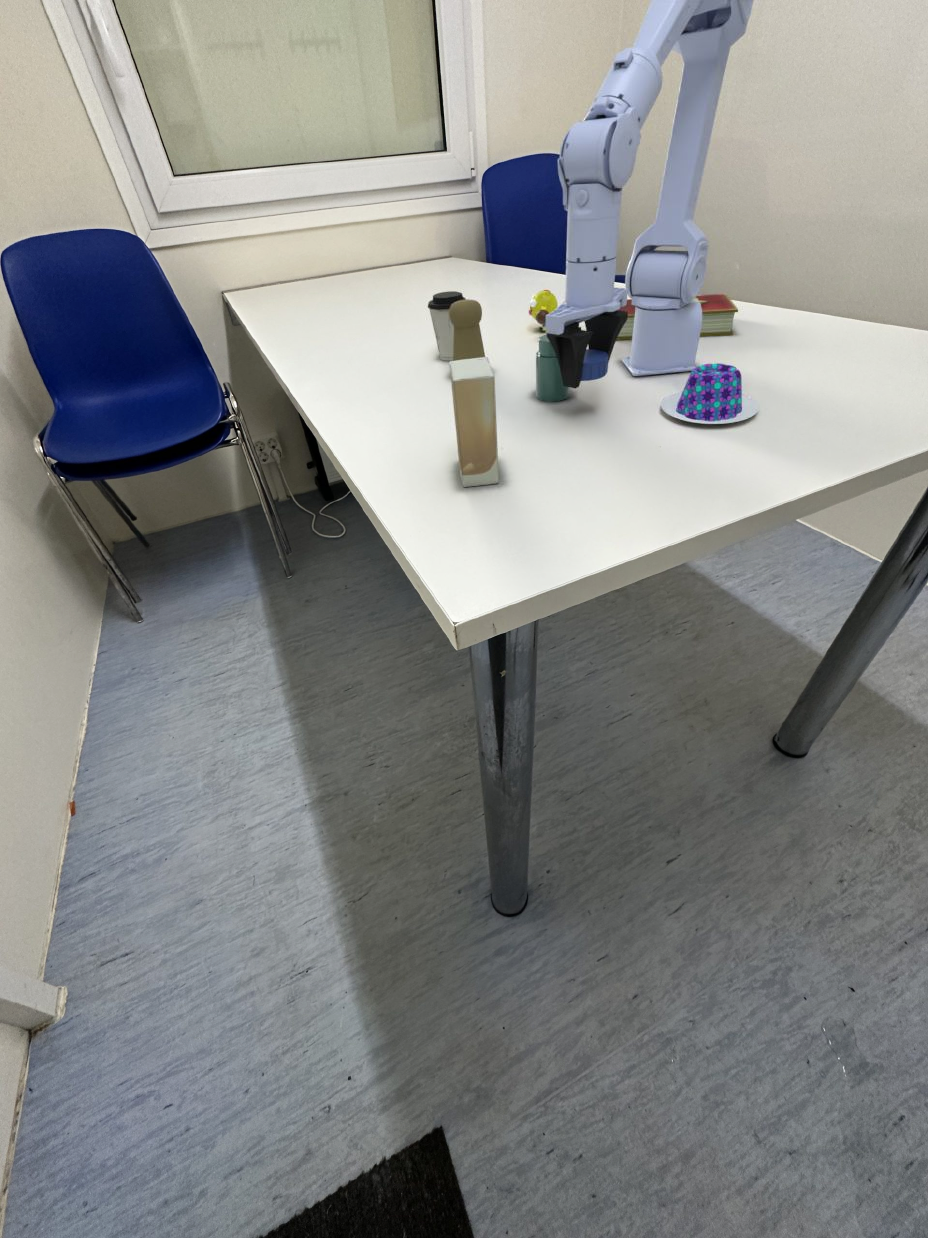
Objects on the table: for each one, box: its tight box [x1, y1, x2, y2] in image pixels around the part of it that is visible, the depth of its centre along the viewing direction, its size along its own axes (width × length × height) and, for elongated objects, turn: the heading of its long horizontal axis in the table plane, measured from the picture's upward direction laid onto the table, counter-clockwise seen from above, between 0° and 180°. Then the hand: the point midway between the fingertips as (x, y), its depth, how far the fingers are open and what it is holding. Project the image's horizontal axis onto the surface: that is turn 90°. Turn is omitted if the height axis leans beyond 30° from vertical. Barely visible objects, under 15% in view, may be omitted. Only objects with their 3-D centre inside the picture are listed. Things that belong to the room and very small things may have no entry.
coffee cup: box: [427, 290, 467, 362], centre depth 96 cm, size 7×7×10 cm
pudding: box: [660, 362, 760, 425], centre depth 70 cm, size 12×12×5 cm
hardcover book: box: [616, 293, 739, 341], centre depth 100 cm, size 12×21×4 cm, turn 80°
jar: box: [535, 334, 571, 403], centre depth 79 cm, size 5×5×8 cm
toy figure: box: [528, 289, 559, 333], centre depth 105 cm, size 18×6×7 cm, turn 172°
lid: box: [581, 348, 610, 382], centre depth 71 cm, size 6×6×2 cm
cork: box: [449, 298, 486, 361], centre depth 88 cm, size 6×6×11 cm
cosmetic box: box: [449, 356, 500, 488], centre depth 61 cm, size 6×4×12 cm
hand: (584, 379), depth 72 cm, fingers closed on lid, 5 cm apart
